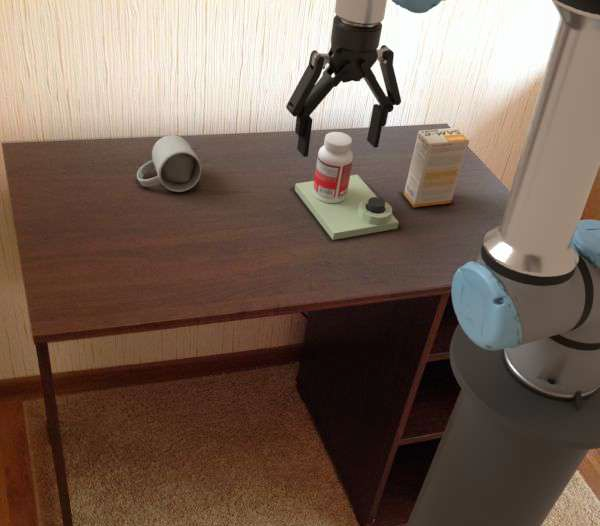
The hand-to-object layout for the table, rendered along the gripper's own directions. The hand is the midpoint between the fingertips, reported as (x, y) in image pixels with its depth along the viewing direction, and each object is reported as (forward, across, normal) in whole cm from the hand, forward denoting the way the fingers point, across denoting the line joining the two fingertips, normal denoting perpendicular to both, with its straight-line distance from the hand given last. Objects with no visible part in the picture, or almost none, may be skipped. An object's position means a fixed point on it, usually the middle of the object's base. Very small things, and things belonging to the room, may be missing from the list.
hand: (338, 148), depth 129 cm
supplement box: (+11, -19, +3) cm, 22 cm away
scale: (+11, -2, +2) cm, 11 cm away
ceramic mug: (+11, +26, -14) cm, 31 cm away
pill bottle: (+10, 0, 0) cm, 10 cm away
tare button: (+8, -5, +7) cm, 12 cm away
